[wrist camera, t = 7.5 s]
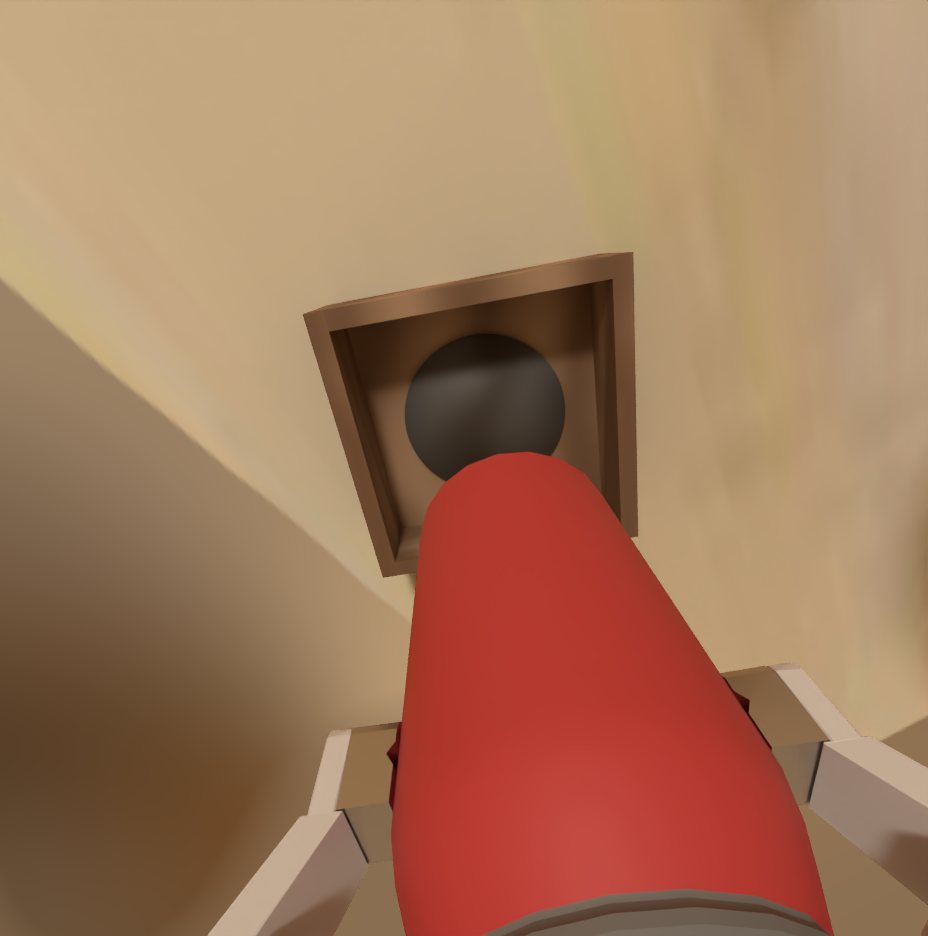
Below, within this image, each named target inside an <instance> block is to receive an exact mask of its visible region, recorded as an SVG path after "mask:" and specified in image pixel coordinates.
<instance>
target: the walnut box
mask: <svg viewBox="0 0 928 936" xmlns="http://www.w3.org/2000/svg"><path fill="white" fill-rule="evenodd" d="M303 317H304V320H305V323H306V327H307V330H308V333H309V336H310V340H311V343H312V346H313V350H314V353H315V356H316V359H317V363H318V366H319V369H320V372H321V376H322V379H323V382H324V386H325V389H326V392H327V395H328V399H329V402H330V405H331V409H332V412H333V415H334V418H335V422H336V425H337V428H338V431H339V435H340V438H341V441H342V445H343V448H344V451H345V454H346V458H347V461H348V464H349V468H350V471H351V474H352V477H353V481H354V484H355V487H356V490H357V494H358V497H359V500H360V504H361V507H362V510H363V513H364V517H365V520H366V523H367V526H368V530H369V533H370V536H371V540H372V543H373V546H374V549H375V553H376V556H377V559H378V563H379V566H380V569H381V572H382V576H383V578H384V577H390V576H396V575H402V574H408V573H415V572H417V567H418V557H419V547H420V537H421V531H422V527H423V523H424V519H425V515H426V511H427V507H428V506H429V504H430V503H431V501H432V500H433V498H434V497H435V496H436V494H437V493H438V491H439V490H440V488H441V487H442V485H443V484H444V483H445V482H447V481H448V480H449V479H450V478H452V477H453V476H454V475H456V474H457V473H458V472H459V471H461V470H462V469H463V468H465V467H466V466H467V465H470V464H472V463H475V462H478V461H480V460H483V459H486V458H488V457H491V456H493V455H496V454H505V453H518V452H533V453H538V454H542V455H547V456H551V457H555V458H560V459H562V460H563V461H565V462H566V463H568V464H570V465H571V466H573V467H575V468H576V469H578V470H580V471H581V472H583V473H585V474H586V476H587V477H588V478H589V479H590V481H591V482H592V483H593V484H594V486H595V487H596V488H597V489H598V491H599V492H600V493H601V494H602V496H603V497H604V499H605V500H606V502H607V503H608V505H609V506H610V508H611V509H612V511H613V512H614V514H615V515H616V517H617V518H618V520H619V521H620V523H621V524H622V526H623V527H624V529H625V531H626V532H627V534H628V535H629V537H630V538H631V537H637V536H638V507H637V448H636V389H635V330H634V271H633V252H627V253H607V254H597V255H592V256H586V257H581V258H576V259H570V260H565V261H560V262H555V263H549V264H544V265H539V266H533V267H528V268H523V269H517V270H512V271H507V272H501V273H496V274H491V275H486V276H480V277H475V278H470V279H464V280H459V281H454V282H448V283H443V284H438V285H432V286H427V287H422V288H417V289H411V290H406V291H401V292H395V293H390V294H385V295H379V296H374V297H369V298H364V299H358V300H353V301H348V302H342V303H337V304H332V305H327V306H324V307H321V308H319V309H316V310H313V311H310V312H308V313H305V314H303Z"/></svg>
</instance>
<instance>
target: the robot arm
mask: <svg viewBox="0 0 928 936" xmlns="http://www.w3.org/2000/svg"><path fill="white" fill-rule="evenodd" d="M720 674H721V676H722V677H723V679H724V681H725V682H726V684H727V685H728V687H729V688H730V690H731V691H732V693H733V694H734V696H735V697H736V699H737V700H738V702H739V703H740V705H741V706H742V708H743V709H744V711H745V712H746V714H747V715H748V717H749V718H750V720H751V721H752V723H753V724H754V726H755V727H756V729H757V731H758V732H759V734H760V735H761V737H762V738H763V740H764V741H765V743H766V744H767V746H768V747H769V749H770V750H771V752H772V753H773V755H774V756H775V758H776V759H777V761H778V762H779V764H780V765H781V767H782V769H783V771H784V774H785V776H786V779H787V781H788V783H789V786H790V788H791V791H792V793H793V795H794V798H795V800H796V803H797V805H798V806H799V805H809V808H810V809H811V810H812V811H814V812H815V813H816V814H817V815H819V816H820V817H821V818H822V819H824V820H825V821H826V822H827V823H828V824H830V825H831V826H832V827H833V828H834V829H836V830H837V831H838V832H839V833H841V834H842V835H843V836H844V837H845V838H847V839H848V840H849V841H850V842H852V843H853V844H854V845H855V846H856V847H858V848H859V849H860V850H861V851H863V852H864V853H865V854H866V855H868V856H869V857H870V858H871V859H872V860H874V861H875V862H876V863H877V864H878V865H880V866H881V867H882V868H883V869H885V870H886V871H887V872H888V873H890V874H891V875H892V876H893V877H894V878H896V879H897V880H898V881H899V882H900V883H902V884H903V885H904V886H905V887H907V888H908V889H909V890H910V891H912V892H913V893H914V894H915V895H916V896H918V897H919V898H920V899H921V900H922V901H924V902H925V903H926V904H927V905H928V768H927V767H924V766H923V765H921V764H919V763H917V762H916V761H914V760H912V759H910V758H909V757H907V756H905V755H903V754H901V753H900V752H898V751H896V750H894V749H892V748H891V747H889V746H887V745H885V744H883V743H882V742H880V741H878V740H876V739H874V738H873V737H871V736H864V737H861V736H860V734H859V733H858V732H857V731H856V730H855V729H854V728H853V726H852V725H851V724H850V723H849V722H848V721H847V720H846V718H845V717H844V716H843V715H842V714H841V713H840V712H839V711H838V709H837V708H836V707H835V706H834V705H833V704H832V703H831V701H830V700H829V699H828V698H827V697H826V696H825V695H824V694H823V692H822V691H821V690H820V689H819V688H818V687H817V686H816V684H815V683H814V682H813V681H812V680H811V679H810V678H809V676H808V675H807V674H806V673H805V672H804V671H803V670H802V669H801V667H800V666H798V665H796V664H795V663H784V664H778V665H772V666H767V667H766V666H761V667H755V668H749V669H743V670H737V671H731V672H725V673H720ZM401 726H402V722H396V723H388V724H380V725H372V726H363V727H355V728H347V729H340V730H334V731H331V733H330V735H329V736H328V738H327V741H326V744H325V748H324V752H323V756H322V760H321V764H320V768H319V772H318V776H317V780H316V783H315V788H314V791H313V795H312V799H311V803H310V807H309V811H308V815H305V816H300V817H299V819H298V820H297V821H296V822H295V824H294V825H293V826H292V828H291V829H290V830H289V831H288V833H287V834H286V835H285V837H284V838H283V839H282V840H281V842H280V843H279V844H278V846H277V847H276V848H275V849H274V851H273V852H272V854H271V855H270V856H269V857H268V858H267V860H266V861H265V862H264V864H263V865H262V866H261V867H260V869H259V870H258V871H257V873H256V874H255V875H254V876H253V878H252V879H251V880H250V882H249V883H248V884H247V885H246V887H245V888H244V889H243V891H242V892H241V893H240V894H239V896H238V897H237V898H236V899H235V901H234V902H233V903H232V905H231V906H230V907H229V909H228V910H227V911H226V912H225V914H224V915H223V916H222V917H221V919H220V920H219V921H218V923H217V924H216V925H215V926H214V928H213V929H212V931H211V932H210V933H209V934H208V935H207V936H333V935H334V933H335V931H336V930H337V928H338V926H339V924H340V922H341V920H342V918H343V916H344V914H345V912H346V911H347V909H348V907H349V905H350V903H351V901H352V899H353V897H354V895H355V894H356V892H357V890H358V888H359V886H360V884H361V882H362V880H363V878H364V876H365V875H366V873H367V871H368V869H369V866H368V864H373V863H379V862H385V861H391V860H393V855H392V843H391V826H392V816H393V806H394V796H395V786H396V776H397V766H398V756H399V746H400V736H401ZM921 936H928V921H927V923H926V925H925V927H924V929H923V931H922V934H921Z"/></svg>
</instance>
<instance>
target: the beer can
mask: <svg viewBox="0 0 928 936" xmlns="http://www.w3.org/2000/svg"><path fill="white" fill-rule="evenodd" d="M391 843H392V855H393V865H394V877H395V888H396V893H397V897H398V902H399V907H400V911H401V916H402V920H403V925H404V930H405V934H406V936H834V934H833V930H832V926H831V922H830V918H829V914H828V910H827V906H826V902H825V898H824V894H823V889H822V885H821V882H820V877H819V874H818V870H817V866H816V863H815V859H814V855H813V851H812V848H811V844H810V840H809V837H808V833H807V830H806V825H805V822H804V820H803V817H802V815H801V812H800V810H799V807H798V805H797V803H796V800H795V798H794V795H793V793H792V791H791V788H790V786H789V783H788V781H787V779H786V776H785V774H784V771H783V769H782V767H781V765H780V764H779V762H778V761H777V759H776V758H775V756H774V755H773V753H772V752H771V750H770V749H769V747H768V746H767V744H766V743H765V741H764V740H763V738H762V737H761V735H760V734H759V732H758V731H757V729H756V727H755V726H754V724H753V723H752V721H751V720H750V718H749V717H748V715H747V714H746V712H745V711H744V709H743V708H742V706H741V705H740V703H739V702H738V700H737V699H736V697H735V696H734V694H733V693H732V691H731V690H730V688H729V687H728V685H727V684H726V682H725V681H724V679H723V677H722V676H721V674H720V673H719V671H718V670H717V668H716V667H715V665H714V664H713V662H712V661H711V659H710V658H709V656H708V655H707V653H706V652H705V650H704V649H703V647H702V646H701V644H700V643H699V641H698V640H697V638H696V637H695V635H694V634H693V632H692V631H691V629H690V627H689V626H688V624H687V623H686V621H685V620H684V618H683V617H682V615H681V614H680V612H679V611H678V609H677V608H676V606H675V605H674V603H673V602H672V600H671V599H670V597H669V596H668V594H667V593H666V591H665V590H664V588H663V587H662V585H661V584H660V582H659V581H658V579H657V577H656V576H655V574H654V573H653V571H652V570H651V568H650V567H649V565H648V564H647V562H646V561H645V559H644V558H643V556H642V555H641V553H640V552H639V550H638V549H637V547H636V546H635V544H634V543H633V541H632V540H631V538H630V537H629V535H628V534H627V532H626V531H625V529H624V527H623V526H622V524H621V523H620V521H619V520H618V518H617V517H616V515H615V514H614V512H613V511H612V509H611V508H610V506H609V505H608V503H607V502H606V500H605V499H604V497H603V496H602V494H601V493H600V492H599V491H598V489H597V488H596V487H595V486H594V484H593V483H592V482H591V481H590V479H589V478H588V477H587V476H586V474H585V473H583V472H581V471H580V470H578V469H576V468H575V467H573V466H571V465H570V464H568V463H566V462H565V461H563V460H562V459H560V458H555V457H551V456H547V455H542V454H538V453H533V452H518V453H505V454H496V455H493V456H491V457H488V458H486V459H483V460H480V461H478V462H475V463H472V464H470V465H467V466H466V467H465V468H463V469H462V470H461V471H459V472H458V473H457V474H456V475H454V476H453V477H452V478H450V479H449V480H448V481H447V482H445V483H444V484H443V485H442V487H441V488H440V490H439V491H438V493H437V494H436V496H435V497H434V498H433V500H432V501H431V503H430V504H429V506H428V507H427V511H426V515H425V519H424V523H423V527H422V531H421V537H420V547H419V557H418V567H417V577H416V587H415V597H414V607H413V617H412V627H411V637H410V647H409V657H408V667H407V677H406V688H405V697H404V707H403V717H402V726H401V736H400V746H399V756H398V766H397V776H396V786H395V796H394V806H393V816H392V826H391Z"/></svg>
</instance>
